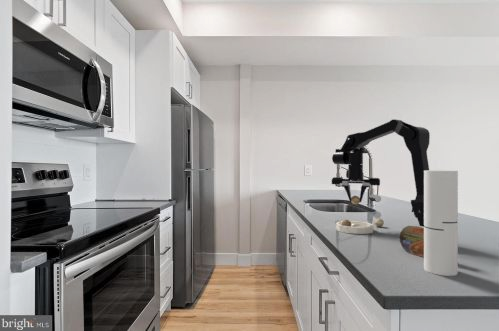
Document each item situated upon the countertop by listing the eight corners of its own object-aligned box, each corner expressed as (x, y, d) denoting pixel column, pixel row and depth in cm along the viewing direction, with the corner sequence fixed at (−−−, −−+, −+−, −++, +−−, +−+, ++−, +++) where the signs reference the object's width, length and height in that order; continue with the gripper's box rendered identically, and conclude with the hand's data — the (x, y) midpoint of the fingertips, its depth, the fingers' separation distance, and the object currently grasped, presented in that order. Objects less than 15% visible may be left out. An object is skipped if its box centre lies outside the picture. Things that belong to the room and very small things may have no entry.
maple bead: (383, 227, 127) (383, 219, 127) (374, 227, 129) (374, 218, 129) (383, 226, 131) (383, 217, 131) (374, 225, 132) (374, 217, 132)
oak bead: (361, 204, 127) (361, 195, 127) (357, 205, 125) (357, 196, 124) (353, 203, 130) (353, 195, 130) (349, 204, 127) (349, 195, 127)
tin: (399, 250, 94) (399, 223, 94) (406, 249, 95) (406, 222, 95) (448, 265, 80) (448, 233, 80) (455, 263, 82) (455, 232, 82)
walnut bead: (350, 230, 120) (350, 220, 120) (341, 229, 121) (341, 220, 121) (351, 228, 123) (351, 219, 123) (342, 227, 124) (342, 218, 124)
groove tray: (372, 235, 114) (372, 228, 114) (334, 231, 120) (334, 225, 120) (373, 228, 127) (373, 222, 127) (339, 225, 133) (338, 219, 133)
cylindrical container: (463, 276, 72) (463, 171, 72) (430, 274, 73) (430, 170, 73) (449, 266, 79) (449, 170, 79) (419, 265, 80) (419, 170, 80)
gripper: (380, 164, 130) (380, 200, 131) (335, 164, 138) (335, 198, 138) (379, 164, 120) (379, 204, 120) (331, 164, 128) (331, 201, 128)
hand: (355, 201), depth 127 cm, fingers closed on oak bead, 4 cm apart
